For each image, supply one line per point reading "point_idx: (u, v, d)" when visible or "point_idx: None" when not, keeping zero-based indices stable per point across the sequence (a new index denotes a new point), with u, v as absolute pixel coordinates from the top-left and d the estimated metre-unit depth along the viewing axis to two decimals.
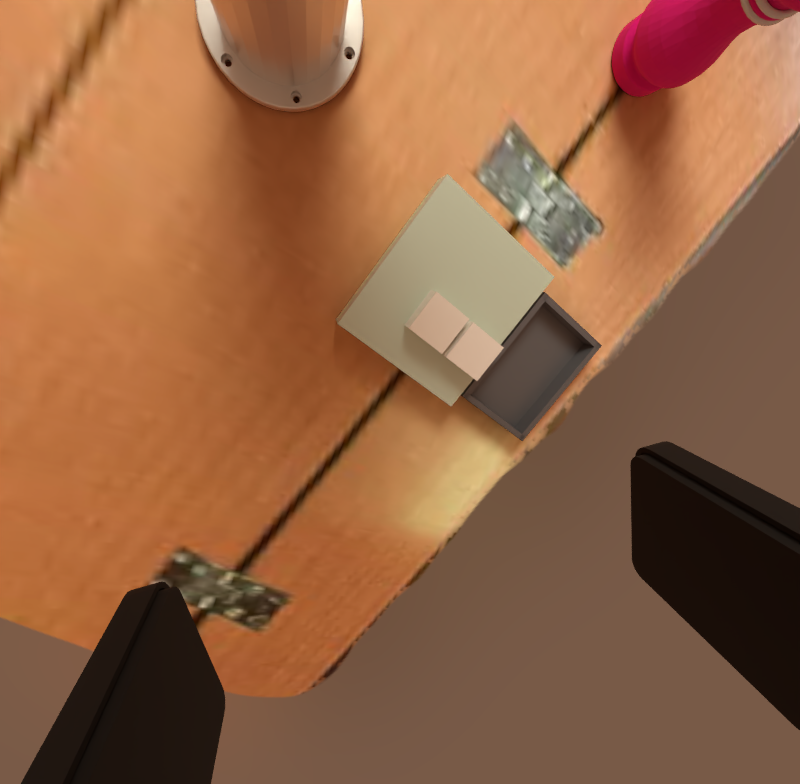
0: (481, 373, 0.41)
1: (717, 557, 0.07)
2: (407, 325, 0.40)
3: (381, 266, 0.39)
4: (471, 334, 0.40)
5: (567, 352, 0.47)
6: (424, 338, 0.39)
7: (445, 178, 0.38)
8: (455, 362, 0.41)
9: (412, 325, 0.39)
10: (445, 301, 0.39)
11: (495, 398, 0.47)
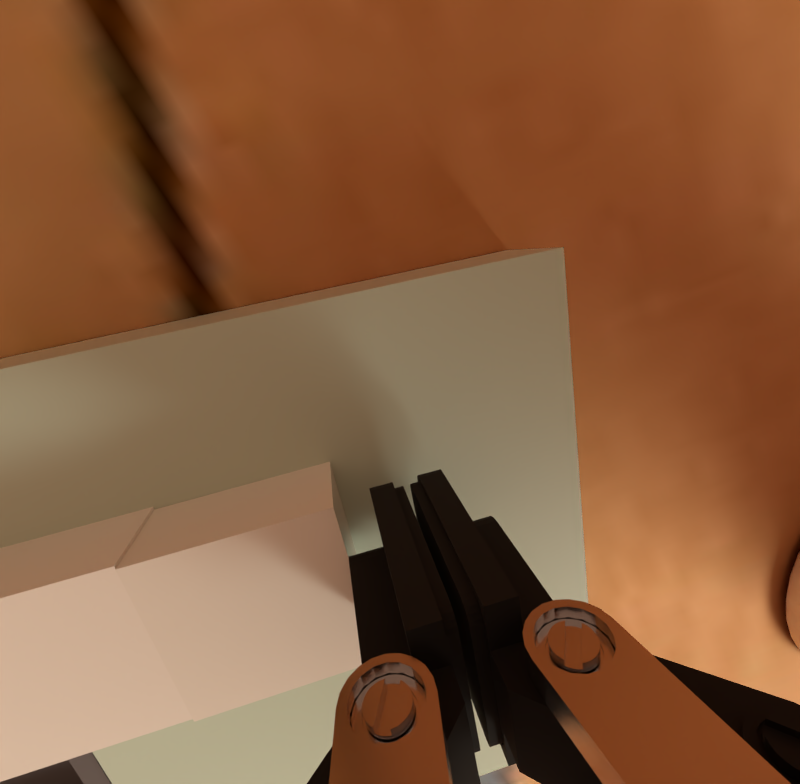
0: None
1: (442, 581, 0.08)
2: (332, 488, 0.09)
3: (576, 494, 0.12)
4: (146, 696, 0.09)
5: None
6: (244, 539, 0.08)
7: None
8: (56, 589, 0.08)
9: (332, 525, 0.08)
10: (324, 672, 0.09)
11: None
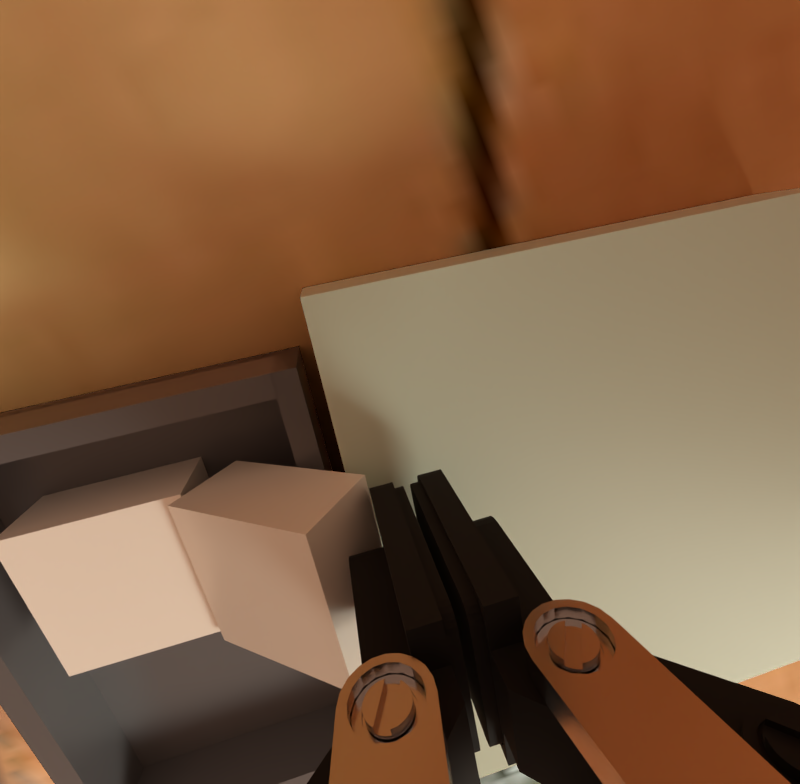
0: None
1: (442, 581, 0.08)
2: (338, 508, 0.08)
3: None
4: None
5: (149, 720, 0.14)
6: (239, 526, 0.09)
7: (798, 652, 0.16)
8: None
9: (306, 551, 0.08)
10: (308, 670, 0.10)
11: (158, 453, 0.12)
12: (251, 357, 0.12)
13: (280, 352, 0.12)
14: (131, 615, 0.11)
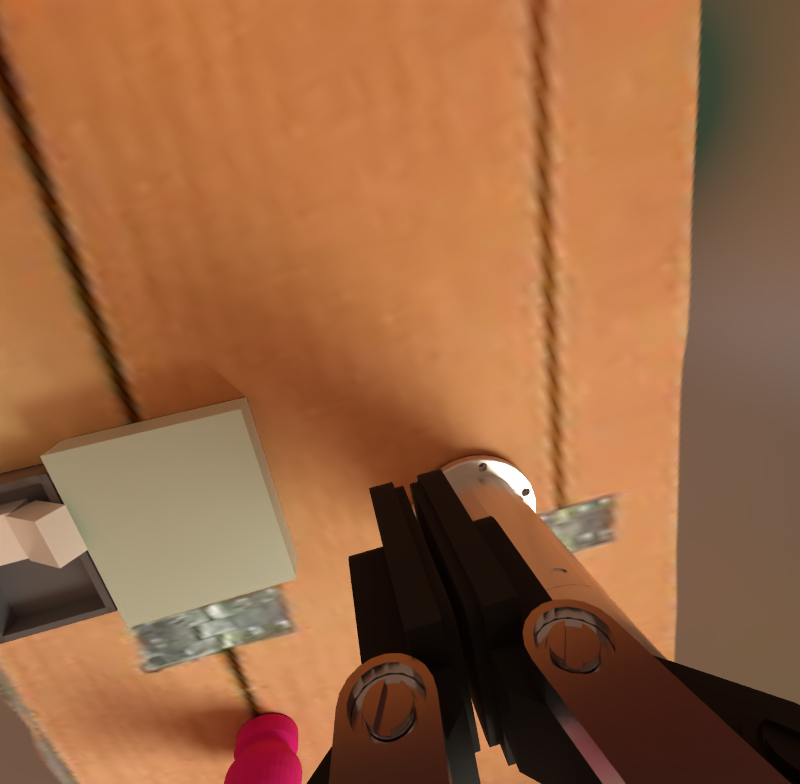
0: None
1: (442, 581, 0.08)
2: (50, 514, 0.31)
3: (263, 483, 0.35)
4: None
5: (18, 597, 0.36)
6: (22, 520, 0.31)
7: (294, 575, 0.38)
8: None
9: (36, 526, 0.30)
10: (49, 564, 0.32)
11: (12, 497, 0.33)
12: None
13: None
14: None
